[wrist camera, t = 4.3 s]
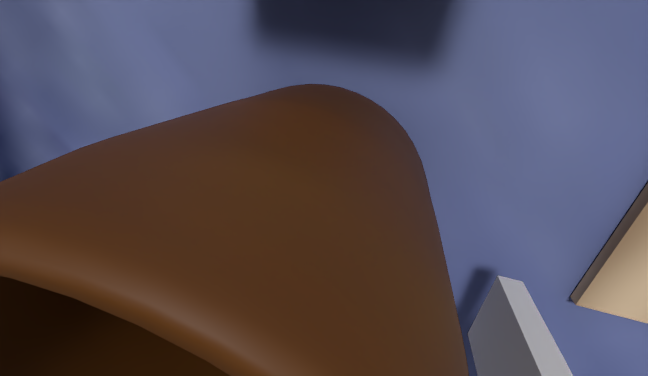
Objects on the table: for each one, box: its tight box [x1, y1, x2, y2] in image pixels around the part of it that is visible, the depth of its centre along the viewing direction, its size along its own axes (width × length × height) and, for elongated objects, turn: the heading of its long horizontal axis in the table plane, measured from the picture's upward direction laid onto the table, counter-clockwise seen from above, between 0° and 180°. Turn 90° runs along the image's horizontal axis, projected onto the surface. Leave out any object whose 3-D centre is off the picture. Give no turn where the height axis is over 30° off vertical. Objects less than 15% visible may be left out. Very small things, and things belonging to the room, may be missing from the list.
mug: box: [0, 84, 469, 376], centre depth 8 cm, size 12×8×9 cm, turn 168°
